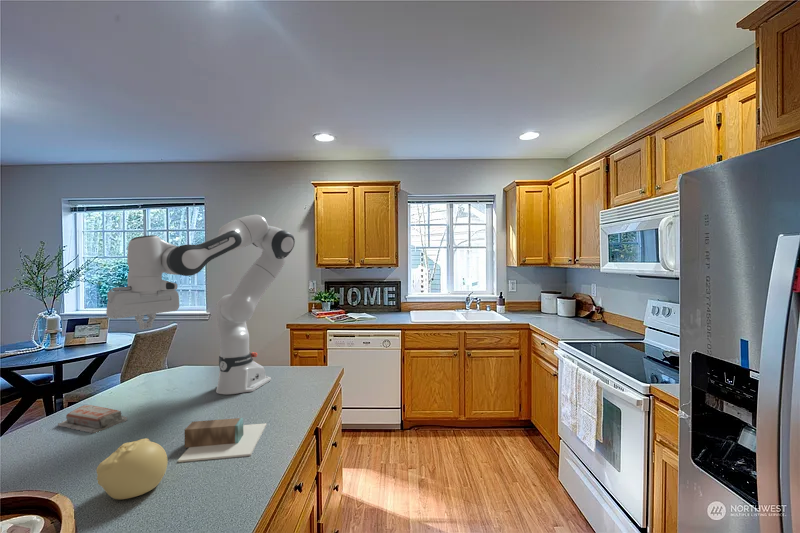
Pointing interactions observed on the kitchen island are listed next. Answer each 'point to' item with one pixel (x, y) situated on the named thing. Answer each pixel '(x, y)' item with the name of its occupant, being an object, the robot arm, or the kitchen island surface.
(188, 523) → the kitchen island surface
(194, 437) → the walnut block
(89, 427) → the packaged product
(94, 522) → the kitchen island surface
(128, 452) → the sculpture
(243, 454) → the cream mat
